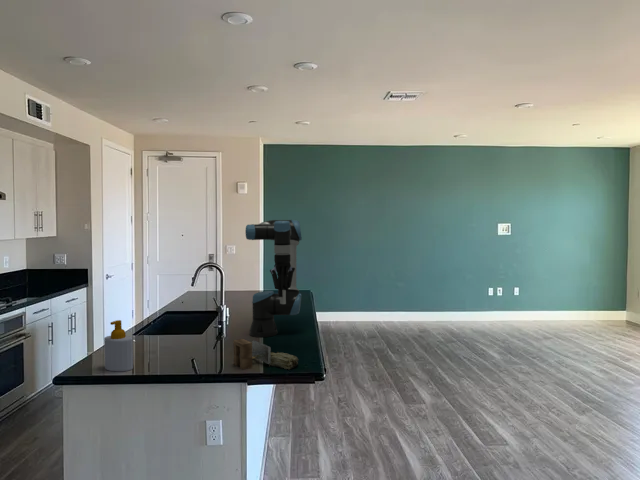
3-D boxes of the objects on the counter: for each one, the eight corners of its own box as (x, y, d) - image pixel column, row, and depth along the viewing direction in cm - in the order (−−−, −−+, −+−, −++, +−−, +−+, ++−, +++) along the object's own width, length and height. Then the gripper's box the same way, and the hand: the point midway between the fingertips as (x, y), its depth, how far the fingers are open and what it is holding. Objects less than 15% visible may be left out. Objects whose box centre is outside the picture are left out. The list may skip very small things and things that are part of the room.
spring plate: (254, 355, 205) (254, 340, 205) (270, 363, 194) (270, 347, 193) (234, 359, 199) (234, 344, 199) (249, 368, 188) (249, 351, 187)
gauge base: (254, 357, 208) (254, 334, 207) (268, 363, 198) (268, 339, 198) (230, 362, 200) (229, 338, 200) (242, 369, 191) (242, 344, 190)
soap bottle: (99, 369, 191) (98, 321, 190) (114, 363, 199) (113, 317, 198) (123, 373, 186) (122, 324, 186) (138, 367, 194) (137, 320, 193)
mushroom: (263, 366, 196) (263, 353, 196) (277, 360, 204) (277, 348, 203) (289, 372, 188) (289, 359, 187) (303, 366, 195) (303, 353, 195)
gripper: (289, 252, 220) (289, 300, 222) (266, 254, 212) (266, 304, 214) (298, 253, 214) (298, 303, 216) (275, 255, 206) (275, 306, 208)
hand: (282, 303), depth 215 cm, fingers closed
